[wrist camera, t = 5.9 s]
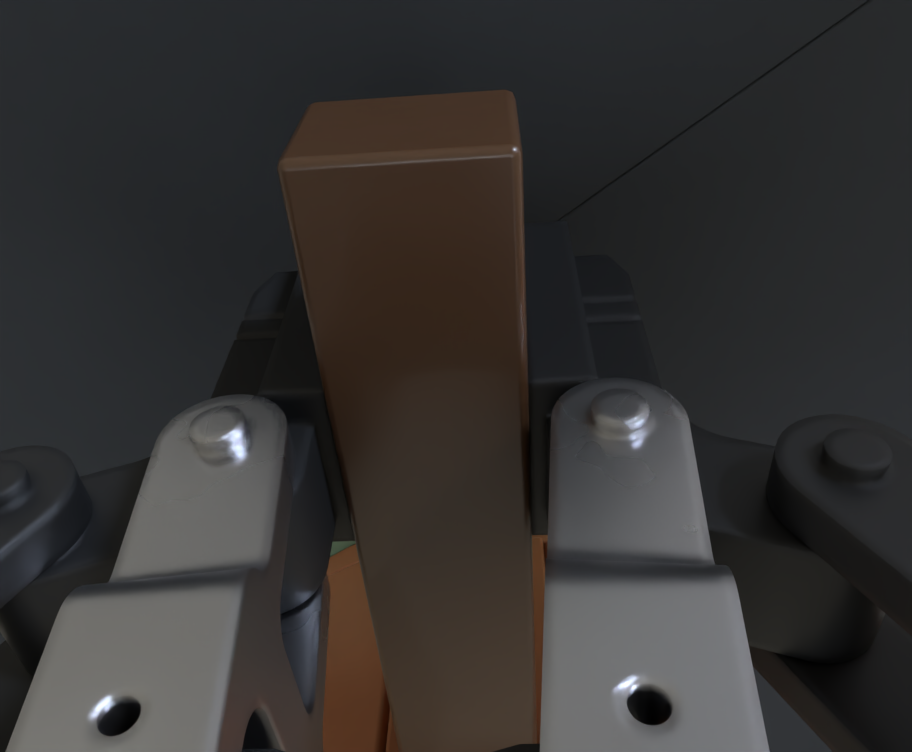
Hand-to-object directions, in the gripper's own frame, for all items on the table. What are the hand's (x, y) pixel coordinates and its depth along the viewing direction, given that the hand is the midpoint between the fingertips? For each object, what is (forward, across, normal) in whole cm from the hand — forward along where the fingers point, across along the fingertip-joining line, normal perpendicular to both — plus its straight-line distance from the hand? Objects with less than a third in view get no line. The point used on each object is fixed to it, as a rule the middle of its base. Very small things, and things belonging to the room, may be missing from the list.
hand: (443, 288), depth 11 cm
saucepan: (+2, 0, +7) cm, 7 cm away
